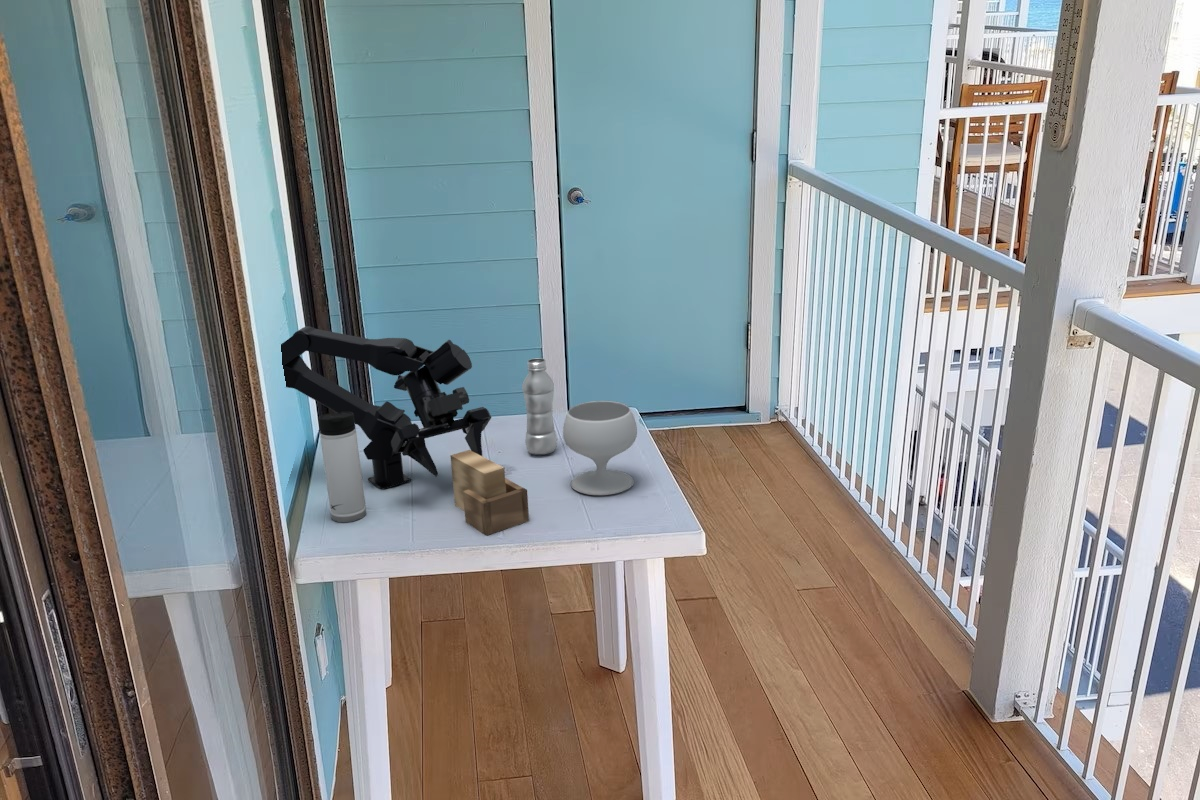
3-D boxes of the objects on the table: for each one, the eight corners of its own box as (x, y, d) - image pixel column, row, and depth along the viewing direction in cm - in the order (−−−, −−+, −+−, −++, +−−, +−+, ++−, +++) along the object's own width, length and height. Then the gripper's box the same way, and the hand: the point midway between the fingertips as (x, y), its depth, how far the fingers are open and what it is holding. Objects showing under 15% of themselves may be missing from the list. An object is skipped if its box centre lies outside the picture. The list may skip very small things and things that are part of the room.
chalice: (653, 485, 190) (651, 410, 186) (595, 505, 182) (591, 428, 178) (608, 465, 201) (605, 394, 196) (551, 483, 193) (547, 410, 188)
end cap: (465, 522, 178) (462, 491, 176) (507, 508, 183) (505, 478, 181) (486, 535, 172) (484, 503, 171) (529, 520, 177) (527, 489, 176)
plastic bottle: (519, 453, 209) (513, 361, 203) (545, 444, 213) (539, 354, 207) (538, 460, 205) (532, 367, 198) (564, 452, 209) (559, 360, 203)
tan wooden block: (455, 505, 185) (450, 455, 182) (473, 499, 188) (469, 449, 184) (489, 526, 176) (484, 473, 173) (508, 519, 178) (504, 467, 175)
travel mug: (332, 525, 179) (317, 420, 173) (330, 511, 185) (316, 409, 179) (367, 520, 180) (354, 415, 174) (365, 506, 186) (352, 404, 180)
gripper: (391, 385, 178) (424, 461, 173) (483, 365, 188) (516, 436, 183) (377, 416, 186) (408, 489, 181) (466, 395, 197) (498, 464, 192)
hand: (459, 468), depth 184 cm, fingers open, 9 cm apart
